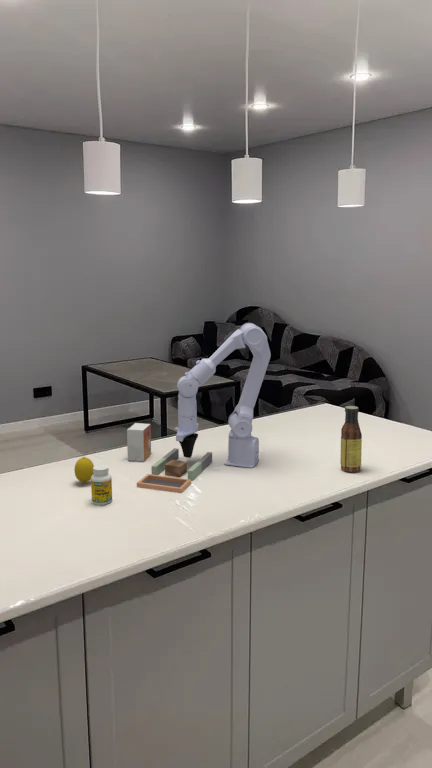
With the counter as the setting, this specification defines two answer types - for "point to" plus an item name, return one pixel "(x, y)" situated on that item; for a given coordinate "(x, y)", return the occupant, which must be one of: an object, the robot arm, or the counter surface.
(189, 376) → the robot arm
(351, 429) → the sauce bottle
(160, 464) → the green and grey bars
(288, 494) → the counter surface
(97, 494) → the supplement bottle
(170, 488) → the tray
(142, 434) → the small box
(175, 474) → the walnut block
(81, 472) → the lemon
